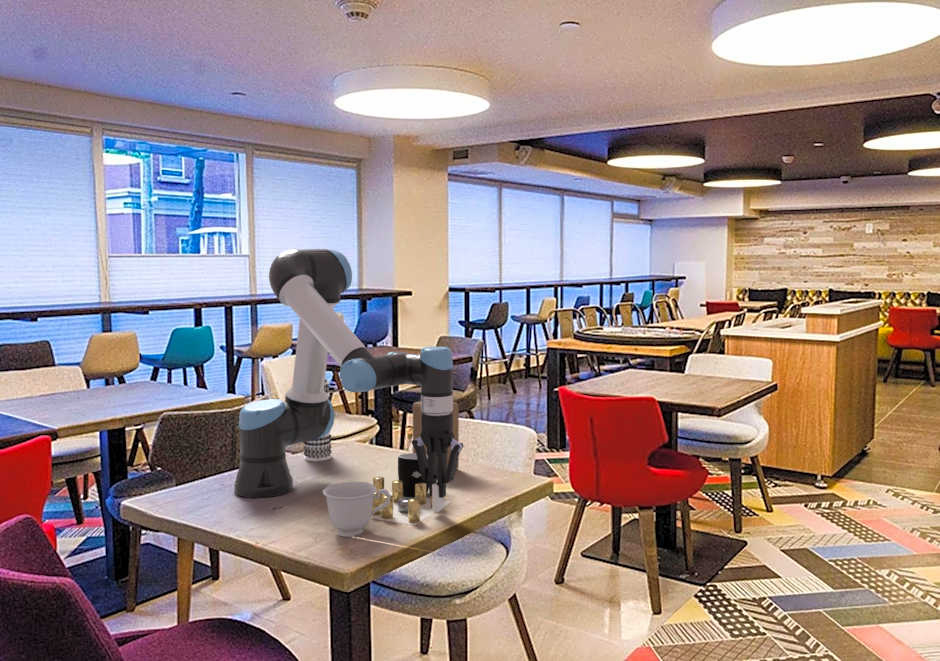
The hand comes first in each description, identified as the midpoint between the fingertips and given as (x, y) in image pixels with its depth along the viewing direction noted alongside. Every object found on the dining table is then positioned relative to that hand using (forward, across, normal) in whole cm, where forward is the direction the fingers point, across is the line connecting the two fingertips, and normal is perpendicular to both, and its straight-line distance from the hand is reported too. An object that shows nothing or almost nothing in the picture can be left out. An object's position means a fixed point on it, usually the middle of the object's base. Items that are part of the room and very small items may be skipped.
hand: (437, 509), depth 181 cm
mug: (+2, -12, +12) cm, 17 cm away
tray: (+2, -13, +1) cm, 13 cm away
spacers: (+1, -12, 0) cm, 12 cm away
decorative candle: (+2, -59, +32) cm, 67 cm away
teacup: (+2, -11, -17) cm, 21 cm away
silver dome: (+1, -8, 0) cm, 8 cm away
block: (+2, -20, +36) cm, 41 cm away
